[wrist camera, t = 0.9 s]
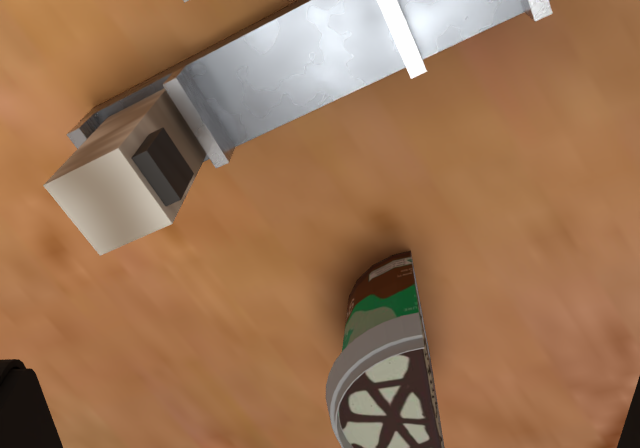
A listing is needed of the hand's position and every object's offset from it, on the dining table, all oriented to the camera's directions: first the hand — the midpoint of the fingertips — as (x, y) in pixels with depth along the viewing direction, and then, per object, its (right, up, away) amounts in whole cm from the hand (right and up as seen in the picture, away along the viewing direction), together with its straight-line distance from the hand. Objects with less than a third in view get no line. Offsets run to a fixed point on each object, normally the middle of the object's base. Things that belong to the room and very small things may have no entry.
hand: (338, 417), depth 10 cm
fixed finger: (-9, +8, +24) cm, 27 cm away
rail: (-1, +12, +23) cm, 26 cm away
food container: (+4, -3, +32) cm, 33 cm away
